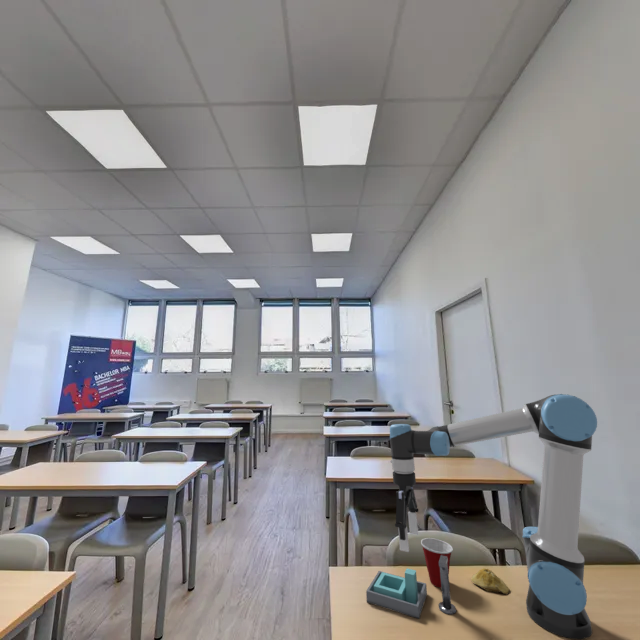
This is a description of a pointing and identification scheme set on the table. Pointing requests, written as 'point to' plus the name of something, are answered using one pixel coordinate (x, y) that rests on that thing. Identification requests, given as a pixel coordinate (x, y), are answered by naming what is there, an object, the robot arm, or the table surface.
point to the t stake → (445, 588)
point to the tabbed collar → (398, 586)
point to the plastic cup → (435, 557)
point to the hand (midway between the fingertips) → (409, 541)
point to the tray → (395, 603)
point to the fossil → (489, 581)
